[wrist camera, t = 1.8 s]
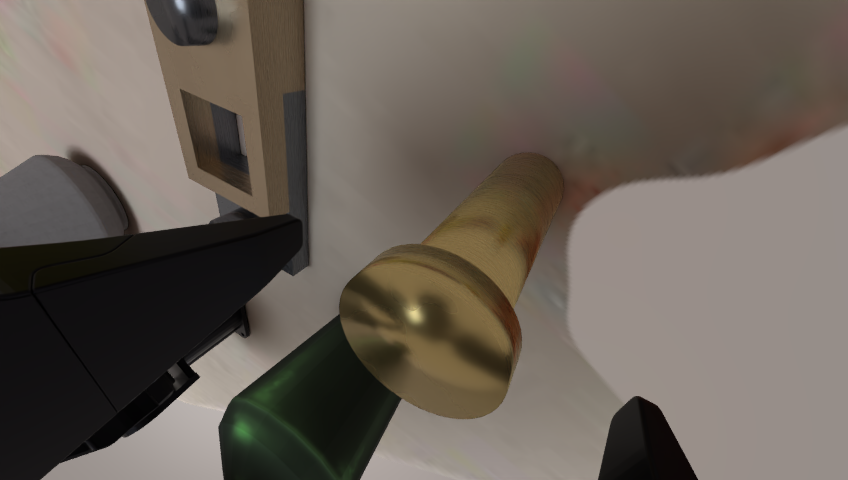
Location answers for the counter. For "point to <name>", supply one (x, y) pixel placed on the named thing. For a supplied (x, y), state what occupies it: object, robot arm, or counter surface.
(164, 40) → the knobbed window plate
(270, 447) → the potion bottle
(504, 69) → the counter surface
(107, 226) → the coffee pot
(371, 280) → the pin
